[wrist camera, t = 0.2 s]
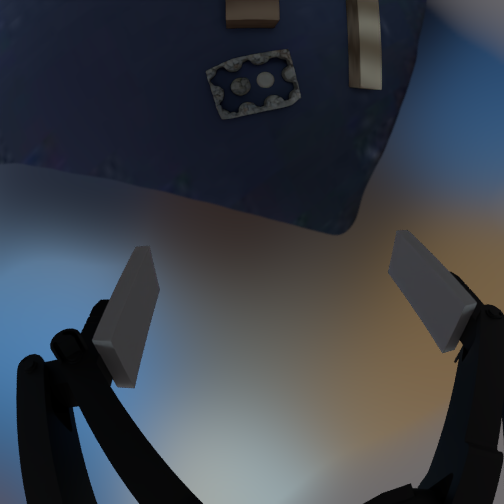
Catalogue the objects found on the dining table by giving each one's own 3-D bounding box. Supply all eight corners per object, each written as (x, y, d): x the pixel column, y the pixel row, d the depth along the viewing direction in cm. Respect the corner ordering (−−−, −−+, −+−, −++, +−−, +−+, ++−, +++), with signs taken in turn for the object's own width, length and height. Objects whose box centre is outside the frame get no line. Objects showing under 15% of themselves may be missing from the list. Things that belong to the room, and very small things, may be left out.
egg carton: (286, 50, 33) (292, 46, 29) (298, 102, 37) (305, 104, 33) (205, 67, 33) (202, 64, 30) (219, 120, 37) (218, 123, 34)
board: (339, -56, 23) (348, -66, 20) (358, -52, 23) (369, -61, 20) (349, 87, 35) (360, 87, 32) (368, 89, 35) (381, 89, 32)
